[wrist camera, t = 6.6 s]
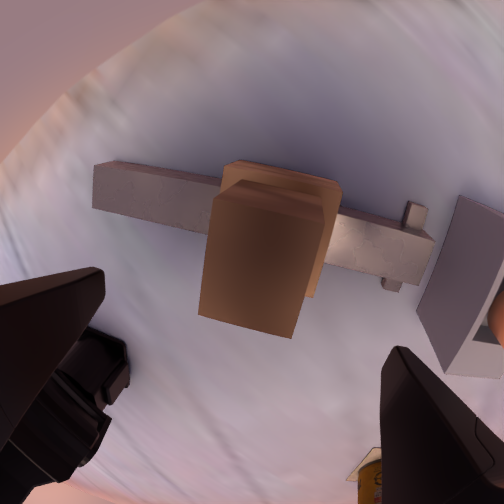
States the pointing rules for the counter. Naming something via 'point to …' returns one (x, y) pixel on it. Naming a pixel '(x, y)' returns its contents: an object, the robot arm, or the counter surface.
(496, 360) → the grey peg holder
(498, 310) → the brown rounded piece
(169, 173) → the rail
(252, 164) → the carriage
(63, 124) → the counter surface
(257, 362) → the counter surface
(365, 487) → the condiment
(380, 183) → the counter surface
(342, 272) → the counter surface
